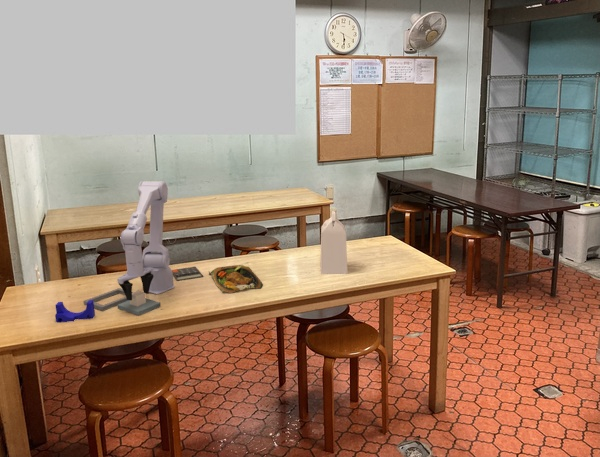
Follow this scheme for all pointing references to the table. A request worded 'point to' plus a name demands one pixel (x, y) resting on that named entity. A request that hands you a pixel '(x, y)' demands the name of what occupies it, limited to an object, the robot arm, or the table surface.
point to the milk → (333, 247)
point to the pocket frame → (106, 295)
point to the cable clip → (67, 315)
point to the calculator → (186, 273)
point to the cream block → (138, 298)
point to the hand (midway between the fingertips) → (138, 296)
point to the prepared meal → (235, 278)
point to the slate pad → (139, 307)
